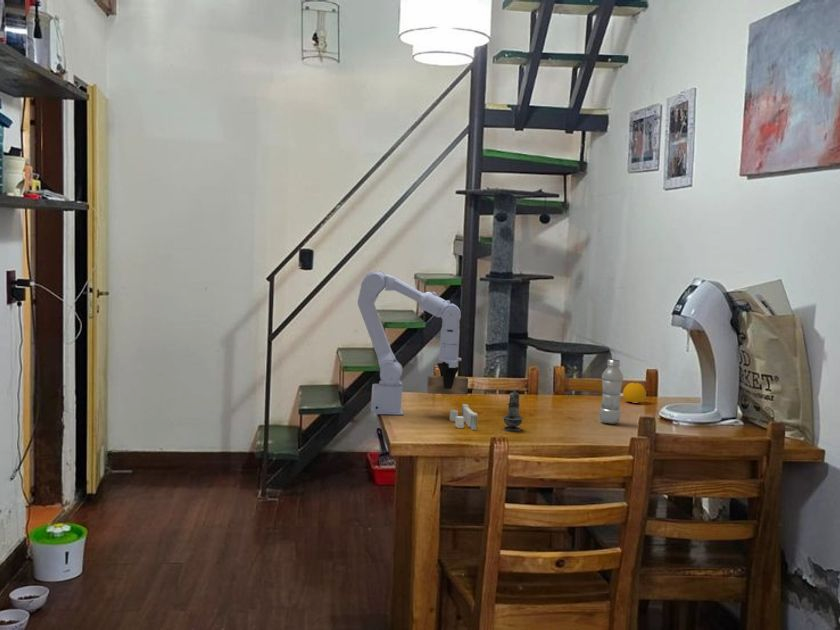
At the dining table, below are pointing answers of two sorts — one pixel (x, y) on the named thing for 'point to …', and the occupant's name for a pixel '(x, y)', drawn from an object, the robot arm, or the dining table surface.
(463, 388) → the block
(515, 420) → the dark grey tall piece
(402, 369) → the robot arm
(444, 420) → the dining table surface
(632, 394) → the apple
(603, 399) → the plastic bottle
